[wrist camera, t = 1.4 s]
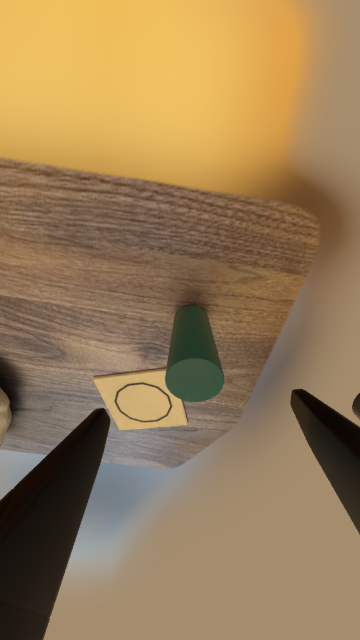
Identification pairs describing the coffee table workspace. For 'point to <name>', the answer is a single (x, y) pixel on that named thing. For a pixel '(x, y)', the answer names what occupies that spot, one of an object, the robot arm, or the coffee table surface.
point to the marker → (193, 357)
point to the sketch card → (141, 400)
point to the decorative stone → (4, 414)
